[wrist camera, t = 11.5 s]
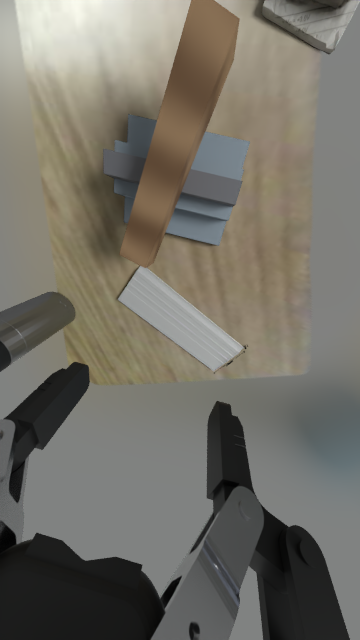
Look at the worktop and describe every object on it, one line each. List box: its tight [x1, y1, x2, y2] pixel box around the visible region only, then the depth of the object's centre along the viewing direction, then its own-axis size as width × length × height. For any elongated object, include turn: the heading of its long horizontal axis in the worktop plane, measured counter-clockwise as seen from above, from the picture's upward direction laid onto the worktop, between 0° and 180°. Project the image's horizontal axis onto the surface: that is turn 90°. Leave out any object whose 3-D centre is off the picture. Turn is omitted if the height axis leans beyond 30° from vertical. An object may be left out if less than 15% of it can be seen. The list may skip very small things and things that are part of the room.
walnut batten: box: [119, 0, 239, 268], centre depth 21 cm, size 22×4×4 cm, turn 154°
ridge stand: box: [103, 114, 250, 246], centre depth 26 cm, size 14×18×9 cm
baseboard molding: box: [118, 266, 248, 374], centre depth 42 cm, size 31×3×12 cm
